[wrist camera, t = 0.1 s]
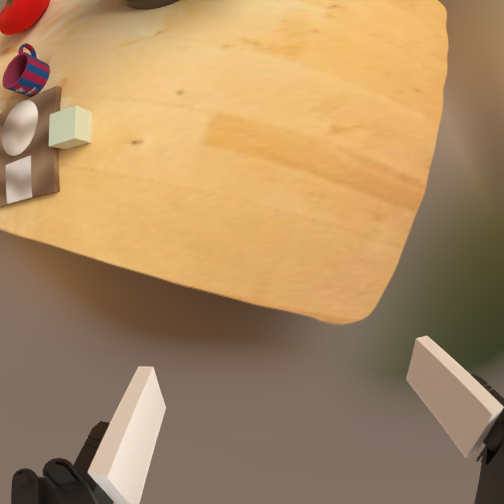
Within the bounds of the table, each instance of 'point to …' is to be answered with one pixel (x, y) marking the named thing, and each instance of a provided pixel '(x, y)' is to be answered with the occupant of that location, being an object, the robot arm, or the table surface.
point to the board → (28, 149)
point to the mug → (26, 73)
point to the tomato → (21, 15)
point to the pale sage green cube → (70, 127)
